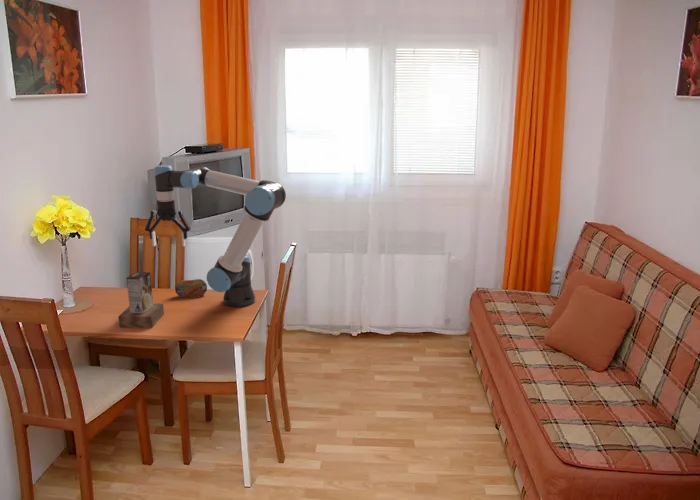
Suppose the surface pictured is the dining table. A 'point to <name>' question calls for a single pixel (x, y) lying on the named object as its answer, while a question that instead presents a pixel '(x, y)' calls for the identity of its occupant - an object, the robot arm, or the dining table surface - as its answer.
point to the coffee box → (139, 292)
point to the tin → (191, 288)
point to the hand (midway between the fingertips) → (169, 245)
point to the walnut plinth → (141, 317)
